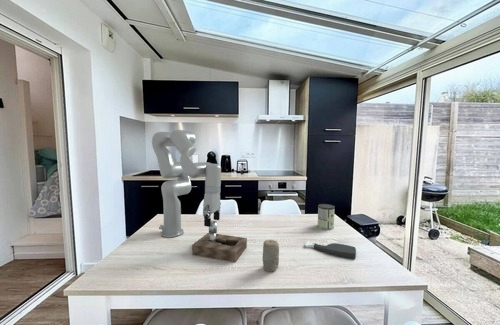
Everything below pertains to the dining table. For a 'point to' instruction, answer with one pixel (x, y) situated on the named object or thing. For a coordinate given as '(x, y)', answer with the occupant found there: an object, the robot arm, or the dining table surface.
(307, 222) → the dining table surface
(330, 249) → the spray bottle
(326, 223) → the coffee can
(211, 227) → the keyhole peg
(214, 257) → the keyhole board
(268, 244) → the carving
